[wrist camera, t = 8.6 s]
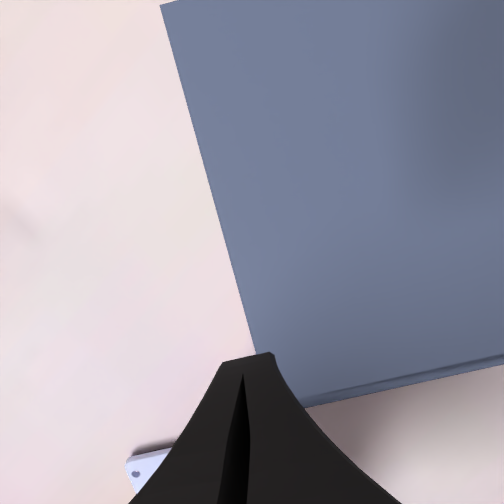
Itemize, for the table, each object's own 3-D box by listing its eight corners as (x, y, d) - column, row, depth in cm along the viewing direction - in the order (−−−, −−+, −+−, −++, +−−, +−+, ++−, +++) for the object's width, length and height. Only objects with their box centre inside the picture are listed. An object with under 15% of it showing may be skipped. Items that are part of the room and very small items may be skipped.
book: (501, 325, 22) (540, 356, 19) (268, 377, 22) (273, 415, 19) (480, -58, 16) (531, -97, 13) (173, 25, 17) (159, 4, 14)
